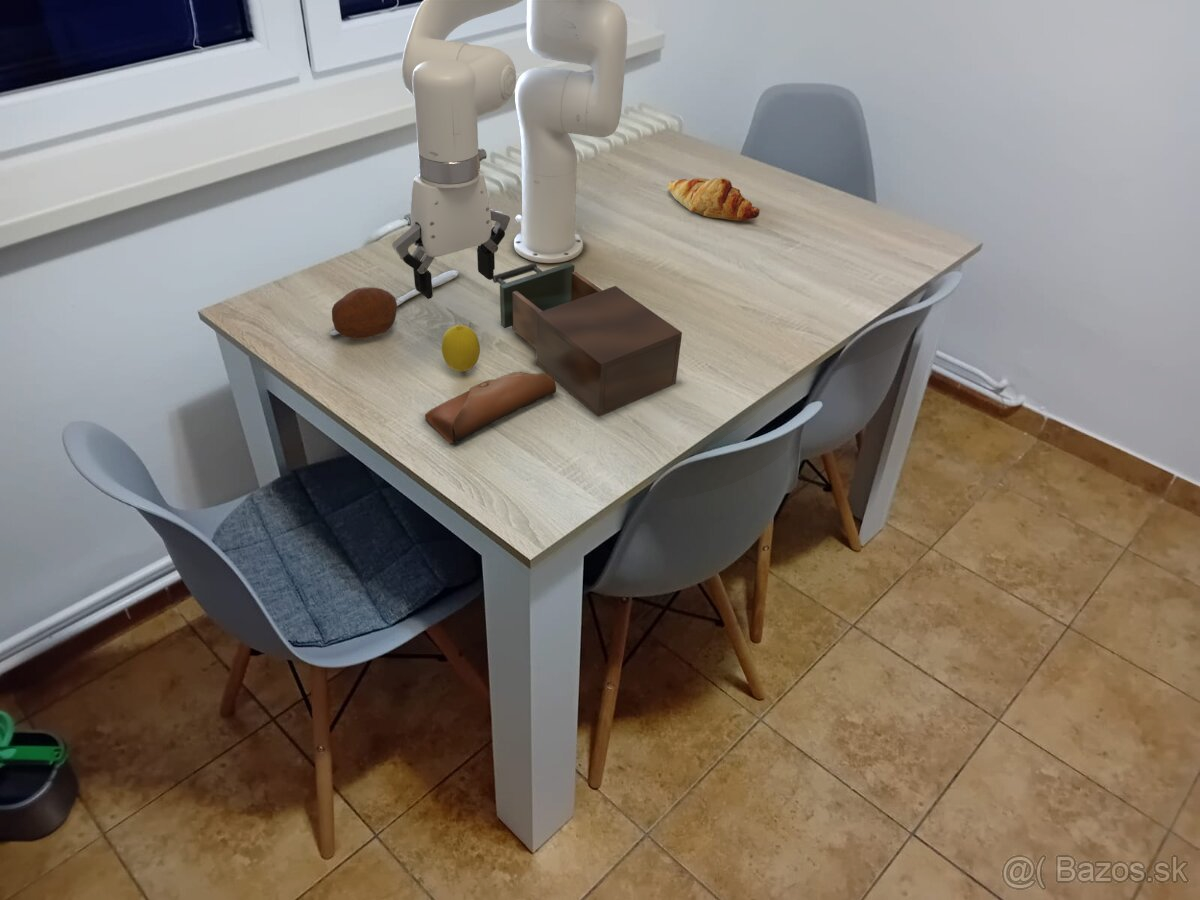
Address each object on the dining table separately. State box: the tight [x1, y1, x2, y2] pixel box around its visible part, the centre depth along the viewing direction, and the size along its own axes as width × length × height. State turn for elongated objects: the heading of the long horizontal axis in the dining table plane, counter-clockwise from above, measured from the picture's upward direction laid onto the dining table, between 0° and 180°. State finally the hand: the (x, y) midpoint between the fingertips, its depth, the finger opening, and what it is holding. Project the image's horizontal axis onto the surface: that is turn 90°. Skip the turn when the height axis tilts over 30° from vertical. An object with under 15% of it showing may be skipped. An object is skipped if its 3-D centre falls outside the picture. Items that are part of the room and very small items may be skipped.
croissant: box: [667, 177, 761, 222], centre depth 180 cm, size 21×10×8 cm
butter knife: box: [329, 269, 460, 336], centre depth 149 cm, size 1×27×3 cm
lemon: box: [441, 324, 481, 373], centre depth 133 cm, size 6×6×8 cm
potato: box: [331, 286, 398, 339], centre depth 140 cm, size 8×11×8 cm
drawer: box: [492, 262, 603, 350], centre depth 143 cm, size 21×13×7 cm, turn 37°
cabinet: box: [536, 285, 683, 418], centre depth 134 cm, size 16×15×9 cm
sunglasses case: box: [424, 371, 557, 445], centre depth 128 cm, size 18×7×7 cm
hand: (456, 284), depth 126 cm, fingers open, 9 cm apart
